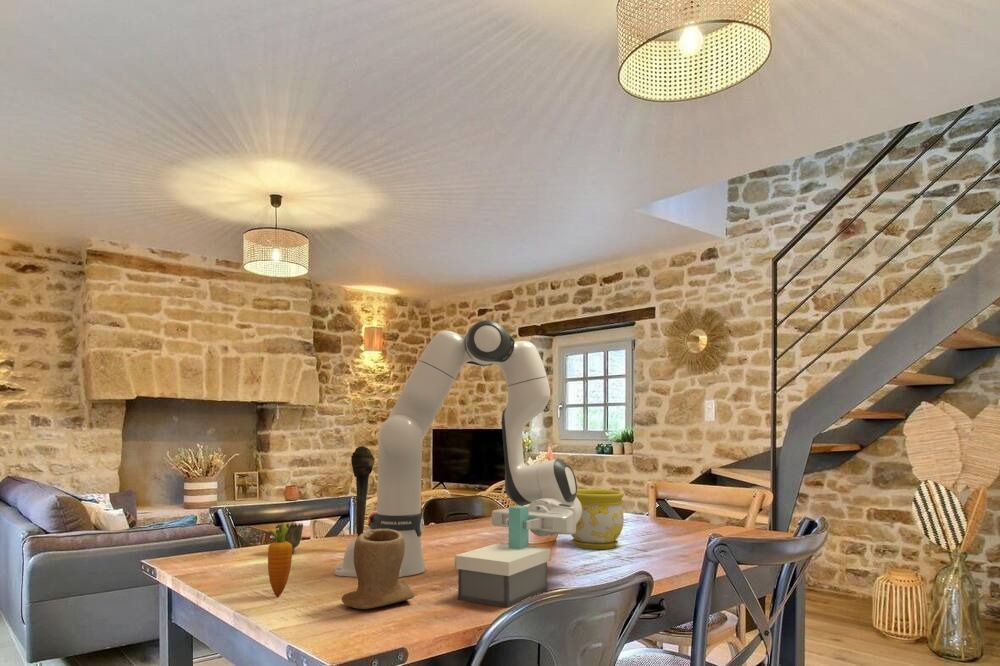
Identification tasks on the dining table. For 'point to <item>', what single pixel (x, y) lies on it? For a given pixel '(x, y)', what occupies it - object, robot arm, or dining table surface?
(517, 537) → the lid
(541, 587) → the tub
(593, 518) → the flowerpot
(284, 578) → the carrot
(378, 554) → the brown boot-shaped piece
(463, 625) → the dining table surface
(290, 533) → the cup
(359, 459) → the decorative torch
